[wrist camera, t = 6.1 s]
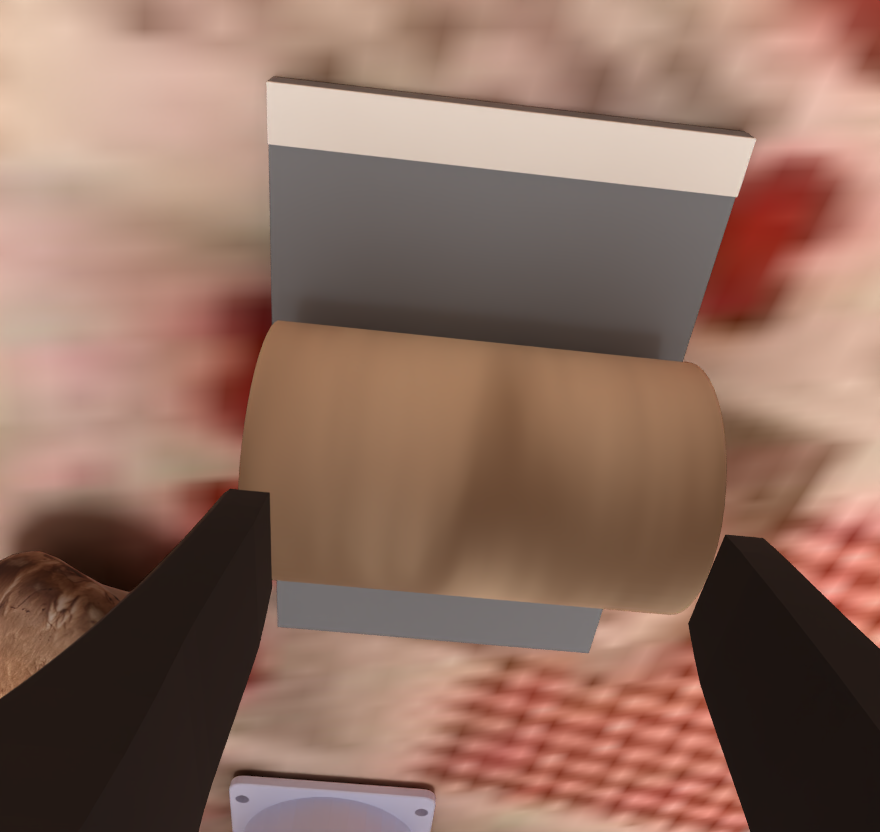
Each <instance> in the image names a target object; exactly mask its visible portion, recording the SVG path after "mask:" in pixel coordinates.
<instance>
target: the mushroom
mask: <svg viewBox="0 0 880 832" xmlns="http://www.w3.org/2000/svg"><path fill="white" fill-rule="evenodd" d="M130 592H131V591H129V592H127V591H123V590H120V589H116V588H113V587H109V586H106V585H103V584H101V583H99V582H97V581H95V580H94V579H92V578H90V577H88V576H86V575H84V574H83V573H81V572H80V571H78V570H76V569H75V568H73V567H72V566H70V565H69V564H67V563H65V562H64V561H62V560H61V559H59V558H56V557H54V556H51V555H49V554H46V553H44V552H41V551H29V552H24V553H18V554H13V555H11V556H9V557H7V558H5V559H3V560H1V561H0V698H2V697H3V696H4V695H6V694H7V693H9V692H10V691H11V690H13V689H14V688H15V687H17V686H18V685H20V684H21V683H22V682H24V681H25V680H27V679H28V678H29V677H31V676H32V675H33V674H35V673H36V672H37V671H38V670H40V669H41V668H42V667H44V666H45V665H46V664H47V663H49V662H50V661H51V660H52V659H54V658H55V657H56V656H58V655H59V654H60V653H61V652H63V651H64V650H65V649H66V648H68V647H69V646H70V645H71V644H72V643H74V642H75V641H76V640H77V639H78V638H80V637H81V636H82V635H83V634H84V633H85V632H87V631H88V630H89V629H90V628H91V627H93V626H94V625H95V624H96V623H97V622H98V621H99V620H100V619H101V618H103V617H104V616H105V615H106V614H107V613H108V612H109V611H110V610H111V609H112V608H113V607H115V606H116V605H117V604H118V603H119V602H120V601H121V600H122V599H123V598H124V597H126V596H127V595H128V594H129V593H130Z"/></svg>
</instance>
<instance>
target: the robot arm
mask: <svg viewBox="0 0 880 832" xmlns="http://www.w3.org/2000/svg"><path fill="white" fill-rule="evenodd" d="M271 590H272V565H271V523H270V492H259V491H248V490H237V489H229V490H228V491H227V492H225V493H224V494H223V495H222V496H221V497H220V498H219V500H218V501H217V502H216V503H215V504H214V505H213V506H212V508H211V509H210V510H209V511H208V512H207V513H206V514H205V516H204V517H203V518H202V519H201V520H200V521H199V522H198V523H197V525H196V526H195V527H194V528H193V529H192V530H191V531H190V532H189V533H188V534H187V535H186V536H185V538H184V539H183V540H182V541H181V542H180V543H179V544H178V545H177V546H176V547H175V548H174V549H173V550H172V551H171V552H170V553H169V554H168V555H167V556H166V557H165V558H164V559H163V560H162V561H161V562H160V563H159V564H158V565H157V566H156V568H155V569H154V570H153V571H152V572H151V573H150V574H149V575H148V576H147V577H146V578H145V579H144V580H143V581H142V582H141V583H140V584H138V585H137V586H136V587H135V588H134V589H133V590H132V591H131V592H130V593H129V594H128V595H127V596H126V597H124V598H123V599H122V600H121V601H120V602H119V603H118V604H117V605H116V606H115V607H113V608H112V609H111V610H110V611H109V612H108V613H107V614H106V615H105V616H104V617H103V618H101V619H100V620H99V621H98V622H97V623H96V624H95V625H94V626H93V627H91V628H90V629H89V630H88V631H87V632H85V633H84V634H83V635H82V636H81V637H80V638H78V639H77V640H76V641H75V642H74V643H72V644H71V645H70V646H69V647H68V648H66V649H65V650H64V651H63V652H61V653H60V654H59V655H58V656H56V657H55V658H54V659H52V660H51V661H50V662H49V663H47V664H46V665H45V666H44V667H42V668H41V669H40V670H38V671H37V672H36V673H35V674H33V675H32V676H31V677H29V678H28V679H27V680H25V681H24V682H22V683H21V684H20V685H18V686H17V687H15V688H14V689H13V690H11V691H10V692H9V693H7V694H6V695H4V696H3V697H2V698H0V832H199V827H200V823H201V819H202V815H203V812H204V809H205V805H206V802H207V799H208V795H209V792H210V789H211V785H212V782H213V779H214V776H215V774H216V771H217V768H218V765H219V762H220V759H221V756H222V753H223V750H224V748H225V745H226V742H227V739H228V736H229V733H230V730H231V727H232V724H233V722H234V719H235V716H236V713H237V710H238V707H239V704H240V701H241V698H242V696H243V693H244V690H245V687H246V684H247V681H248V678H249V675H250V672H251V669H252V666H253V663H254V660H255V657H256V654H257V651H258V648H259V645H260V640H261V636H262V631H263V627H264V623H265V618H266V613H267V609H268V604H269V599H270V595H271ZM688 625H689V630H690V636H691V641H692V646H693V652H694V657H695V662H696V667H697V671H698V676H699V680H700V685H701V688H702V691H703V694H704V697H705V700H706V703H707V706H708V709H709V712H710V715H711V718H712V721H713V724H714V727H715V730H716V733H717V736H718V739H719V742H720V745H721V747H722V750H723V753H724V756H725V759H726V762H727V765H728V768H729V771H730V774H731V776H732V779H733V782H734V785H735V788H736V791H737V794H738V797H739V800H740V802H741V805H742V808H743V811H744V814H745V817H746V820H747V823H748V826H749V829H750V832H880V649H879V648H878V647H877V646H876V645H875V644H874V643H873V642H872V641H871V640H870V639H869V638H868V637H866V636H865V635H864V634H863V633H862V632H861V631H860V630H859V629H858V628H857V627H856V626H855V625H854V624H853V623H852V622H851V621H850V620H848V619H847V618H846V617H845V616H844V615H843V614H842V613H841V612H840V611H839V610H838V609H837V608H836V607H835V606H834V605H833V604H832V603H831V602H830V601H829V600H828V599H827V598H826V597H825V596H824V595H823V594H822V593H821V592H820V591H818V590H817V589H816V588H815V587H814V586H813V585H812V584H811V583H810V582H809V581H808V580H807V579H806V578H805V577H804V576H803V575H802V574H801V573H800V572H799V571H798V570H797V569H796V568H795V567H794V566H793V565H792V564H791V563H790V562H789V561H788V560H786V559H785V558H784V557H783V556H782V555H781V554H780V553H779V552H778V551H777V550H776V549H775V548H774V547H773V546H771V545H770V544H769V543H768V542H767V541H766V540H765V539H763V538H756V537H745V536H735V535H725V537H724V539H723V542H722V544H721V546H720V549H719V551H718V554H717V556H716V558H715V561H714V563H713V566H712V568H711V570H710V573H709V575H708V578H707V580H706V582H705V585H704V587H703V590H702V592H701V594H700V597H699V599H698V602H697V604H696V606H695V609H694V611H693V614H692V616H691V618H690V621H689V623H688ZM229 795H230V807H231V818H232V830H233V832H431V827H432V821H433V816H434V810H435V802H436V797H435V794H434V793H433V792H432V791H430V790H426V789H416V788H403V787H390V786H376V785H363V784H350V783H337V782H324V781H310V780H297V779H284V778H271V777H258V776H244V775H243V776H237V777H234V778H233V779H232V781H231V784H230V788H229Z"/></svg>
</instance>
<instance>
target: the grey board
mask: <svg viewBox="0 0 880 832" xmlns="http://www.w3.org/2000/svg"><path fill="white" fill-rule="evenodd" d="M266 87H267V139H268V144H269V190H270V243H271V296H272V325H273V324H274V322H276V321H278V320H279V321H289V322H299V323H309V324H319V325H328V326H338V327H348V328H358V329H367V330H377V331H387V332H397V333H406V334H416V335H426V336H435V337H445V338H455V339H465V340H474V341H484V342H494V343H504V344H513V345H523V346H533V347H543V348H552V349H562V350H572V351H582V352H591V353H601V354H611V355H621V356H630V357H640V358H650V359H660V360H669V361H679V362H683V359H684V356H685V353H686V349H687V346H688V343H689V340H690V337H691V334H692V331H693V328H694V325H695V321H696V318H697V315H698V312H699V309H700V306H701V303H702V300H703V297H704V293H705V290H706V287H707V284H708V281H709V278H710V275H711V272H712V269H713V266H714V262H715V259H716V256H717V253H718V250H719V247H720V244H721V241H722V238H723V234H724V231H725V228H726V225H727V222H728V219H729V216H730V213H731V210H732V207H733V203H734V200H735V197H738V194H739V191H740V188H741V185H742V182H743V178H744V175H745V172H746V169H747V166H748V163H749V160H750V157H751V154H752V151H753V148H754V144H755V141H756V138H754V137H753V136H751V135H749V134H748V133H746V132H744V131H735V130H727V129H718V128H710V127H701V126H693V125H684V124H676V123H667V122H658V121H650V120H641V119H633V118H624V117H616V116H607V115H599V114H590V113H581V112H573V111H564V110H556V109H547V108H539V107H530V106H522V105H513V104H505V103H496V102H487V101H479V100H470V99H462V98H453V97H445V96H436V95H428V94H419V93H410V92H402V91H393V90H385V89H376V88H368V87H359V86H351V85H342V84H333V83H325V82H316V81H308V80H299V79H291V78H282V77H272V78H271V79H270V80H268V81H267V82H266ZM602 610H603V609H598V608H587V607H575V606H564V605H552V604H541V603H530V602H518V601H507V600H495V599H484V598H472V597H461V596H449V595H438V594H427V593H415V592H404V591H392V590H381V589H369V588H358V587H346V586H335V585H324V584H312V583H301V582H289V581H278V580H277V615H278V627H285V628H297V629H309V630H321V631H333V632H344V633H356V634H368V635H380V636H392V637H403V638H415V639H427V640H439V641H451V642H463V643H474V644H486V645H498V646H510V647H522V648H533V649H545V650H557V651H569V652H581V653H589V651H590V648H591V644H592V641H593V638H594V635H595V632H596V629H597V626H598V623H599V620H600V617H601V613H602Z"/></svg>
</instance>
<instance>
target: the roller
mask: <svg viewBox="0 0 880 832" xmlns="http://www.w3.org/2000/svg"><path fill="white" fill-rule="evenodd" d="M726 474H727V463H726V443H725V432H724V426H723V419H722V414H721V410H720V406H719V402H718V399H717V396H716V393H715V390H714V388H713V386H712V384H711V382H710V380H709V378H708V377H707V375H706V374H705V372H704V371H703V370H702V369H701V368H700V367H699V366H697V365H695V364H693V363H689V362H679V361H669V360H660V359H650V358H640V357H630V356H621V355H611V354H601V353H591V352H582V351H572V350H562V349H552V348H543V347H533V346H523V345H513V344H504V343H494V342H484V341H474V340H465V339H455V338H445V337H435V336H426V335H416V334H406V333H397V332H387V331H377V330H367V329H358V328H348V327H338V326H328V325H319V324H309V323H299V322H289V321H279V320H278V321H276V322H274V324H273V325H272V326H271V327H270V329H269V331H268V333H267V335H266V337H265V340H264V342H263V345H262V348H261V351H260V353H259V357H258V360H257V364H256V368H255V371H254V376H253V380H252V384H251V389H250V394H249V400H248V405H247V411H246V417H245V424H244V431H243V439H242V448H241V457H240V469H239V483H238V490H248V491H259V492H270V523H271V565H272V580H278V581H289V582H301V583H312V584H324V585H335V586H346V587H358V588H369V589H381V590H392V591H404V592H415V593H427V594H438V595H449V596H461V597H472V598H484V599H495V600H507V601H518V602H530V603H541V604H552V605H564V606H575V607H587V608H598V609H610V610H621V611H632V612H644V613H655V614H667V615H674V614H678V613H680V612H682V611H684V610H685V609H686V608H688V607H689V606H690V605H691V603H692V602H693V601H694V600H695V599H696V597H697V595H698V594H699V592H700V591H701V589H702V587H703V585H704V583H705V581H706V579H707V577H708V574H709V571H710V568H711V566H712V563H713V560H714V556H715V553H716V549H717V546H718V541H719V536H720V532H721V527H722V520H723V513H724V506H725V495H726Z"/></svg>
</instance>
